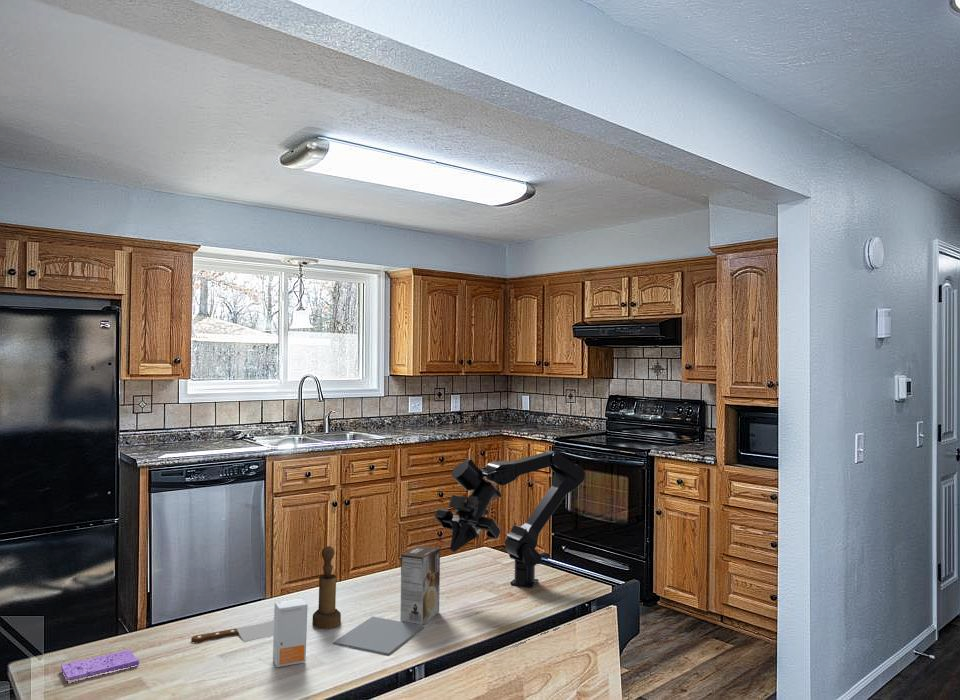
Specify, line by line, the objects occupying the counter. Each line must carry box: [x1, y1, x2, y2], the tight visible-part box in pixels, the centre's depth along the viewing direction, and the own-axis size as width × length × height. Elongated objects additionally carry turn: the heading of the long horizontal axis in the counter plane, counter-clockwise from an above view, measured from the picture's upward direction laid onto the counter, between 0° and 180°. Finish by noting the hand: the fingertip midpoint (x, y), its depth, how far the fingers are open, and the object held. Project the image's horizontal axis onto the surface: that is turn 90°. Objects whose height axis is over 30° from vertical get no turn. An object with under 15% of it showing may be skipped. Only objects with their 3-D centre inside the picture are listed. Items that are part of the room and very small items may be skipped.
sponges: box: [60, 649, 140, 680], centre depth 135 cm, size 7×13×2 cm, turn 130°
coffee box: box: [399, 545, 441, 626], centre depth 165 cm, size 9×6×16 cm
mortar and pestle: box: [311, 545, 342, 630], centre depth 160 cm, size 7×6×18 cm
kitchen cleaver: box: [190, 619, 274, 644], centre depth 153 cm, size 24×1×10 cm
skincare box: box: [272, 598, 309, 668], centre depth 139 cm, size 6×4×12 cm
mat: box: [332, 616, 425, 656], centre depth 153 cm, size 16×14×1 cm
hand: (451, 550), depth 175 cm, fingers closed
